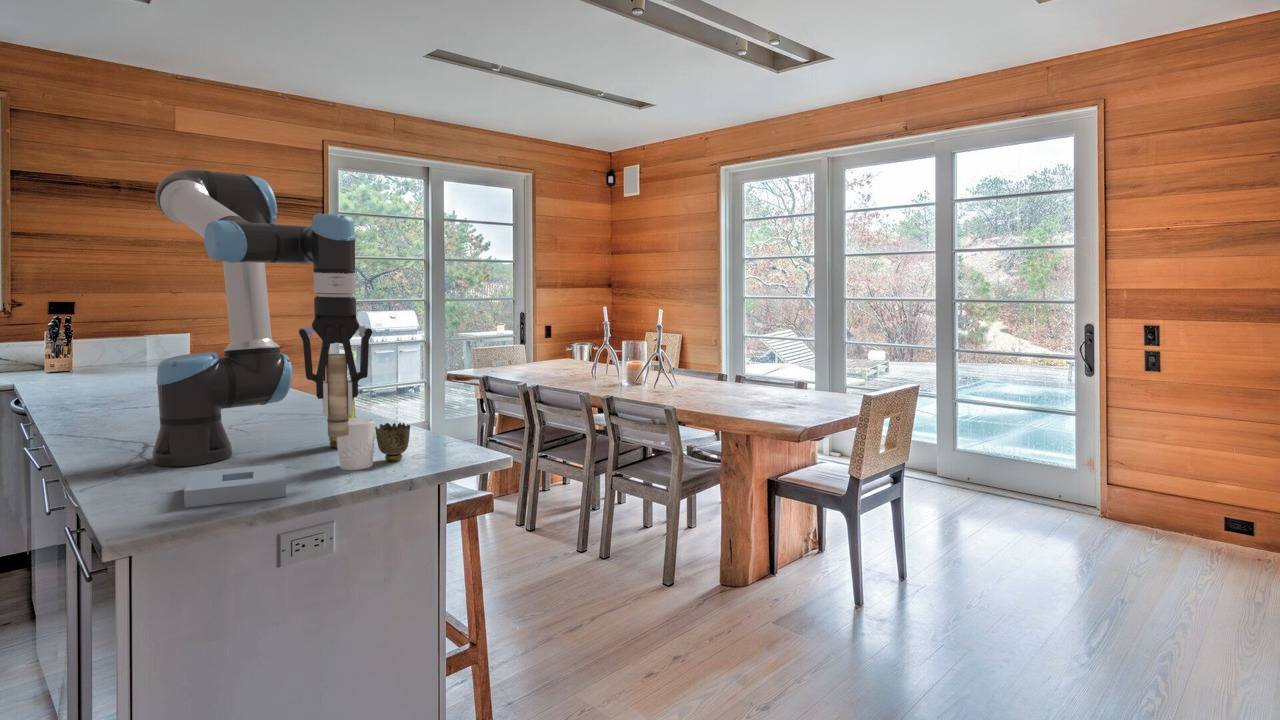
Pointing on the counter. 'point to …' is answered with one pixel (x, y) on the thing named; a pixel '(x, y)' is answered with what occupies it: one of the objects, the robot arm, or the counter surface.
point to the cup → (393, 440)
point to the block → (235, 485)
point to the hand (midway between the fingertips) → (337, 413)
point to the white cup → (357, 445)
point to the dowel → (337, 395)
